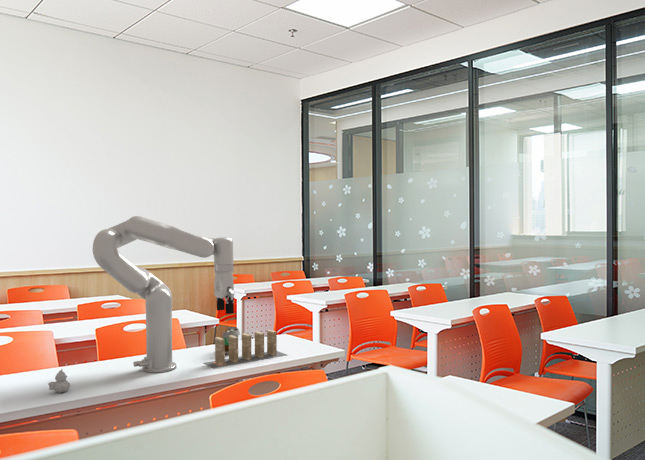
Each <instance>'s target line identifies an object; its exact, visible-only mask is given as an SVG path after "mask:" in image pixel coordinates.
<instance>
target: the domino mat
mask: <svg viewBox="0 0 645 460" xmlns="http://www.w3.org/2000/svg"><path fill="white" fill-rule="evenodd" d="M285 356H288V354H287V353H284V352H281V351H278V350H277V355H276V356H272V355H269V354H267V351H264V358H259V357H257V356H255V353H254V354H252V353H251V360H246V359H243V358H242V355H241V356H238V362H237V363H234V362H232V361H229V358H225V365H219V364H217V363H215V360H213V361H206V362H203V363H202V364H203V365H205V366H208V367H210V368H212V369H219V368H225V367H229V366H236V365H241V364H242V365H243V364H247V363H254V362H258V361H263V360H268V359H269V360H270V359H275V358H279V357H285Z"/></svg>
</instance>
